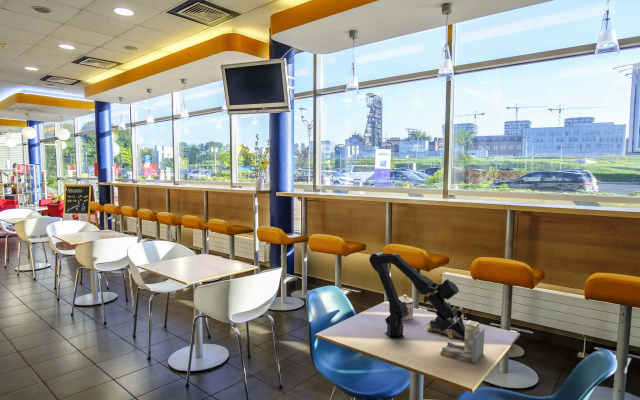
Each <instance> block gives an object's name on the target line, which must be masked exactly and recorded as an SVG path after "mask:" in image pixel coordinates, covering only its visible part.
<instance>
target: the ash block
mask: <svg viewBox="0 0 640 400" xmlns="http://www.w3.org/2000/svg"><path fill="white" fill-rule="evenodd" d="M464 324H465V339H464V344H463V346H464V353H467V354H471V355H472V343H473V336H474V335H475V333H476V332H477V331H478V330H479V328H480V327H479V326H480V322H478V321H473V320H470V319H469V320H467V321H466V322H465V323H464Z"/></svg>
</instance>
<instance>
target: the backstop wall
mask: <svg viewBox="0 0 640 400" xmlns="http://www.w3.org/2000/svg"><path fill="white" fill-rule="evenodd" d="M479 328H480V329H479V330H478V331H477V332H476V333H475V335H474V336H473V343H472V361H473V362H476V361H477V360H478V358H479V357H480V356H481V354H482V353H483V354H484V352H485V351H484V348H485V347H484V345H485V328H484V327H479ZM481 357H482V356H481Z"/></svg>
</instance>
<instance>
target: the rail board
mask: <svg viewBox="0 0 640 400" xmlns="http://www.w3.org/2000/svg"><path fill="white" fill-rule="evenodd" d="M439 353H440V355H441V356H444V357H448V358H451V359H454V360H457V361H461V362H465V363H468V364H471V365H477V363H478V362H479V361H480V359H481V358H482V356H483V355H484V352H483V353H482V354H481V356H480V357H479V358H478V360H477V361H476V362H473V361H472V355H471V354H467V353H464V344H459V343H455V342H451V341H447V344H446V346H442V349H441V351H440V352H439Z"/></svg>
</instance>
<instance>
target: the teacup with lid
mask: <svg viewBox="0 0 640 400" xmlns="http://www.w3.org/2000/svg"><path fill="white" fill-rule="evenodd" d="M398 297H399V299H400V300H401V301H402V302H404V301H405V303H406V306H407V308H408V315H407V317H406V318H404V320H403V321H408V319H409V320H413V318H414V299H413V298H412V297H411V298H410V297H409V296H408V295H407V294H403V295H401V296H398Z"/></svg>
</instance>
